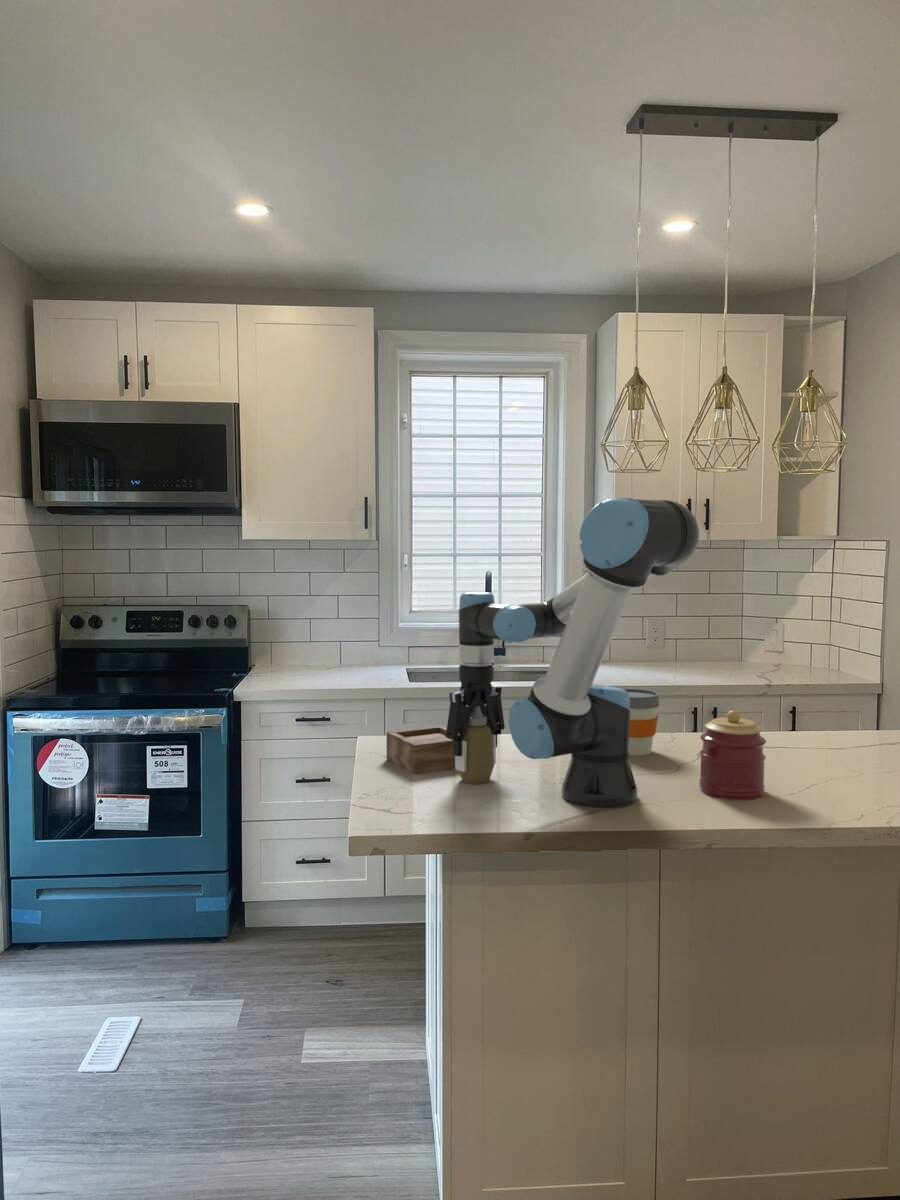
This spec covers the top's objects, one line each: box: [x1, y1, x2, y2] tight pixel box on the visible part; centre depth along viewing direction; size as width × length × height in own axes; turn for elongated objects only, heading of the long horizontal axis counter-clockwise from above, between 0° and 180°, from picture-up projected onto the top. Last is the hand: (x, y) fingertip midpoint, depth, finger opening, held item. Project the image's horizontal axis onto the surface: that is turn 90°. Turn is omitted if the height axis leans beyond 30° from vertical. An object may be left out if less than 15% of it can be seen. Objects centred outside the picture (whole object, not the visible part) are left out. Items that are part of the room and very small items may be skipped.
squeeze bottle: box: [458, 706, 495, 785], centre depth 190 cm, size 8×8×18 cm
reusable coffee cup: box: [623, 688, 660, 757], centre depth 216 cm, size 13×13×15 cm
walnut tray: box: [386, 725, 459, 775], centre depth 205 cm, size 15×15×7 cm
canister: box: [698, 709, 767, 801], centre depth 181 cm, size 13×13×18 cm
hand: (475, 766), depth 190 cm, fingers open, 8 cm apart
